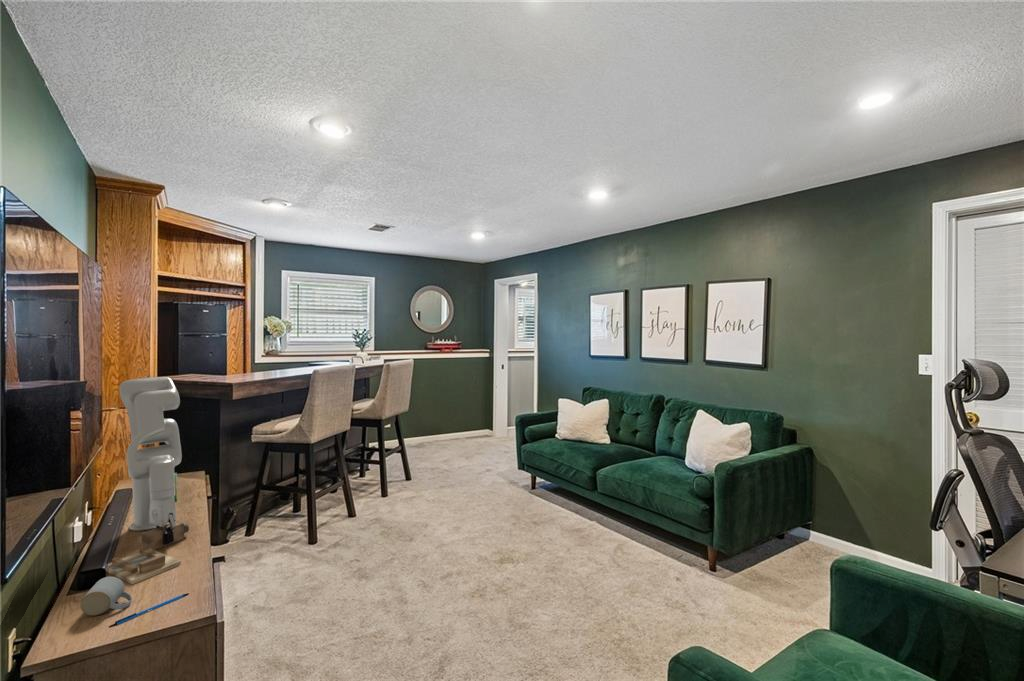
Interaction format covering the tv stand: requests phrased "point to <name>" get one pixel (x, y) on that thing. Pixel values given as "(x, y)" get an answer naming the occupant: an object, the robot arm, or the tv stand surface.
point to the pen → (146, 610)
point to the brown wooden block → (155, 536)
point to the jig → (141, 565)
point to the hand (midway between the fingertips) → (164, 541)
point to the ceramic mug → (105, 596)
